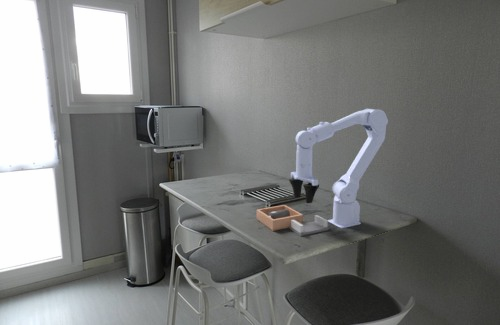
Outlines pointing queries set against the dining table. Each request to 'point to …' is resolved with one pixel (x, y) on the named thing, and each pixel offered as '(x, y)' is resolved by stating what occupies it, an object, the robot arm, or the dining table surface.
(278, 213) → the cell
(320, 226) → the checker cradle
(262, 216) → the bin
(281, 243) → the dining table surface
